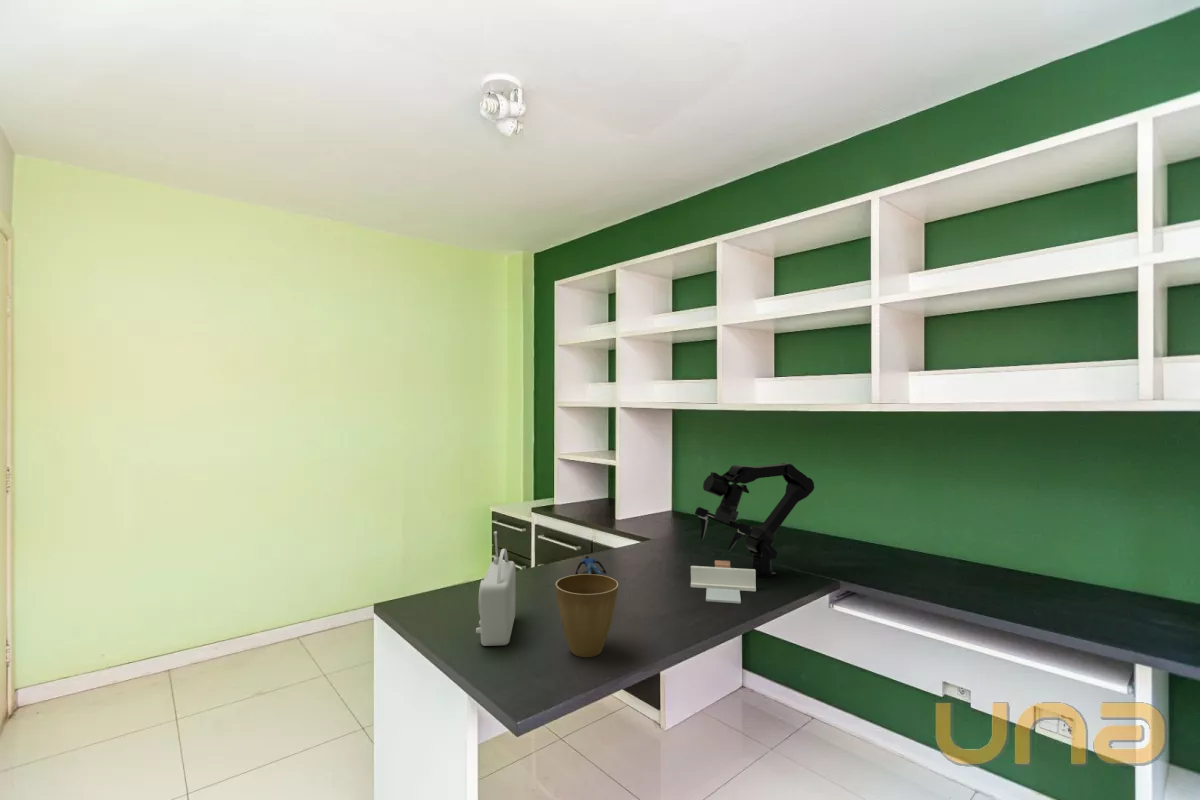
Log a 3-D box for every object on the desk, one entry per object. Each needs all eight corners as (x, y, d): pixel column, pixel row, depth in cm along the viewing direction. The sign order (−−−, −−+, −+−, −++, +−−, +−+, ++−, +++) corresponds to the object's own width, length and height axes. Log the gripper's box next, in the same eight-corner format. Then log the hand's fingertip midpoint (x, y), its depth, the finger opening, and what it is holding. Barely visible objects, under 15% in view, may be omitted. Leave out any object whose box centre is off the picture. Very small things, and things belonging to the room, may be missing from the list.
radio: (486, 615, 150) (485, 525, 151) (516, 614, 151) (515, 524, 151) (473, 651, 129) (472, 546, 129) (508, 650, 129) (508, 545, 129)
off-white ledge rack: (691, 583, 177) (691, 564, 177) (755, 587, 172) (754, 568, 172) (690, 587, 173) (690, 568, 173) (756, 591, 168) (755, 572, 169)
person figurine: (613, 588, 177) (601, 565, 195) (614, 575, 177) (601, 553, 194) (581, 591, 175) (571, 567, 192) (581, 578, 174) (571, 555, 192)
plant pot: (578, 672, 118) (578, 598, 119) (544, 647, 131) (543, 580, 131) (631, 653, 127) (631, 584, 127) (594, 632, 139) (594, 569, 139)
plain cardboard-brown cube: (715, 574, 186) (714, 560, 186) (730, 575, 184) (729, 560, 185) (715, 579, 180) (714, 564, 180) (730, 580, 179) (730, 565, 179)
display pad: (706, 589, 170) (706, 587, 170) (739, 591, 168) (739, 590, 168) (705, 601, 160) (705, 599, 160) (740, 603, 158) (740, 601, 158)
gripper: (700, 489, 178) (684, 534, 176) (756, 509, 171) (740, 557, 169) (705, 492, 188) (689, 535, 187) (758, 512, 181) (743, 557, 179)
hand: (714, 545), depth 180 cm, fingers open, 9 cm apart
